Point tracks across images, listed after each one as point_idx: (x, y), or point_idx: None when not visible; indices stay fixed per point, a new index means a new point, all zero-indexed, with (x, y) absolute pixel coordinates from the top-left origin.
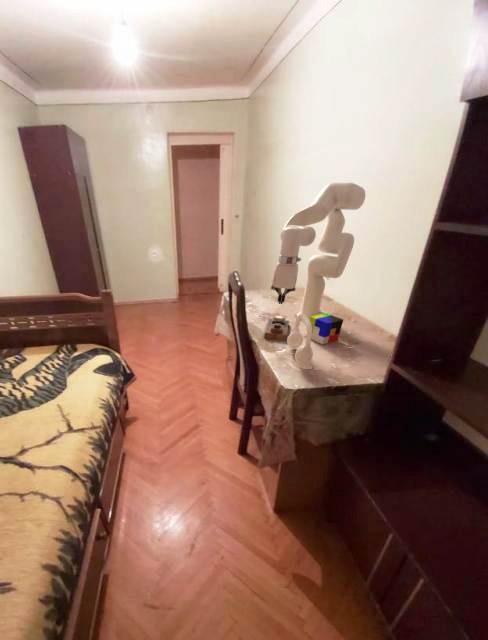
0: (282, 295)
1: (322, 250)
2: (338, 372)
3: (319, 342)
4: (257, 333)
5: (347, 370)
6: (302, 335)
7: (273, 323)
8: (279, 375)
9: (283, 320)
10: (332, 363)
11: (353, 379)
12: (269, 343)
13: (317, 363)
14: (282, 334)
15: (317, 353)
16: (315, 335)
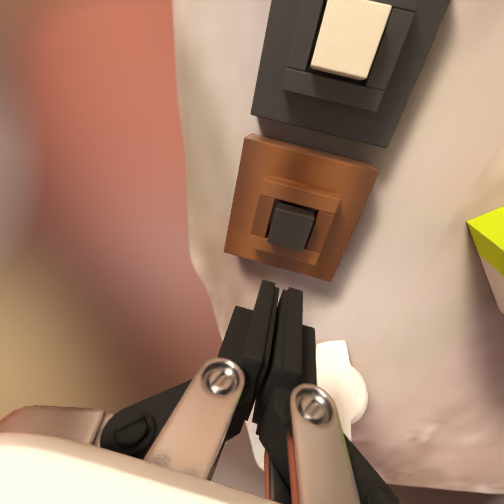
0: (258, 422)
1: None
2: (416, 457)
3: (495, 297)
4: (199, 179)
5: (453, 455)
6: (361, 416)
7: (293, 93)
8: (252, 443)
9: (380, 64)
10: (431, 425)
11: (436, 481)
12: (248, 289)
13: (379, 418)
14: (308, 275)
15: (418, 371)
16: (501, 286)
